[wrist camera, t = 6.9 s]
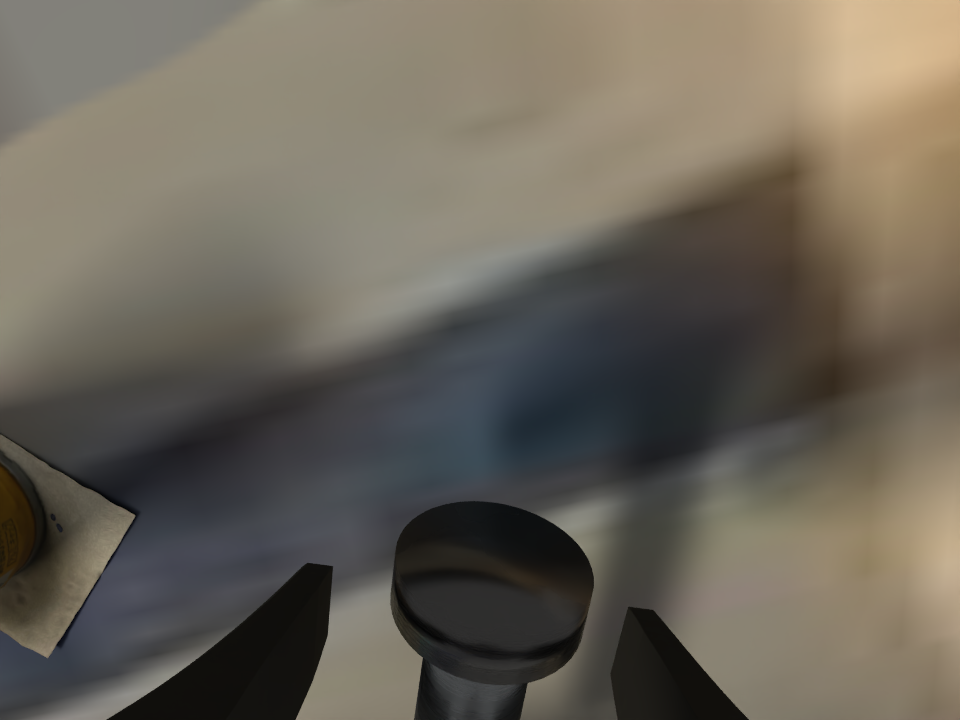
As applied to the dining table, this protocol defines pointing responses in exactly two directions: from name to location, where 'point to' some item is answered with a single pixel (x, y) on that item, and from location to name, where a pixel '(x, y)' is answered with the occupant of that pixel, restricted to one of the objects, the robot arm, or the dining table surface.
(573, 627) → the shaft
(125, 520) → the condiment
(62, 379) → the dining table surface
